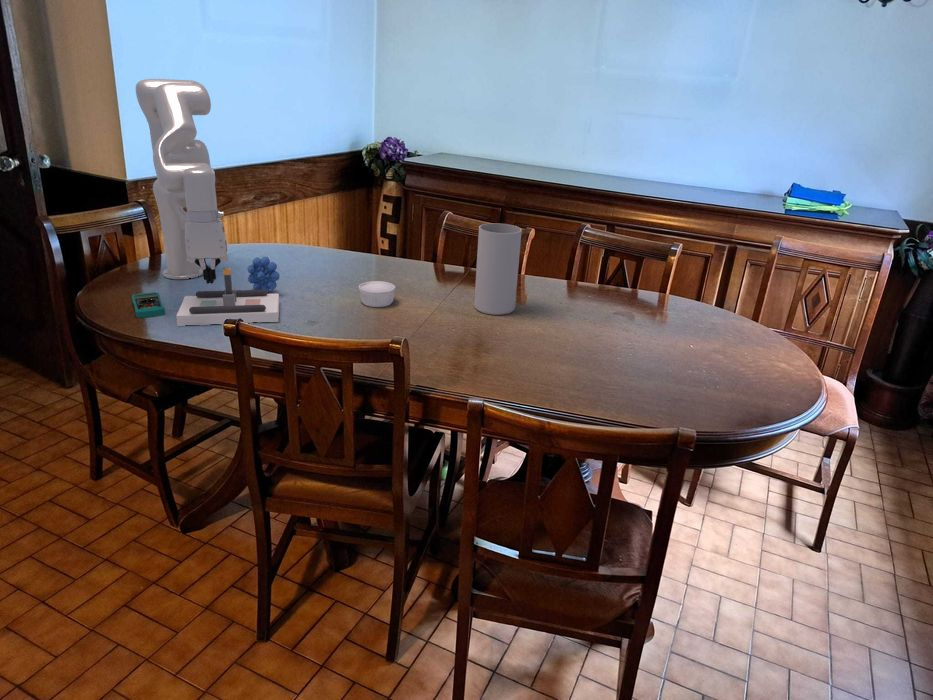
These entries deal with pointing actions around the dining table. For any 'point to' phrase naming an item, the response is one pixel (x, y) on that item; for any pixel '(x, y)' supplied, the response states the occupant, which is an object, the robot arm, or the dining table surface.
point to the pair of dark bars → (229, 308)
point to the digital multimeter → (147, 305)
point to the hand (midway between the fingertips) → (210, 282)
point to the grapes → (263, 274)
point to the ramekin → (377, 293)
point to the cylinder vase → (497, 268)
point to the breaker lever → (228, 280)
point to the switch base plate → (218, 318)
